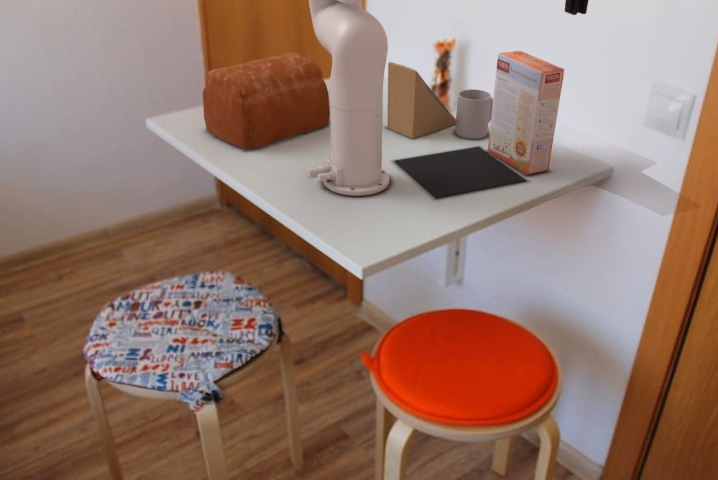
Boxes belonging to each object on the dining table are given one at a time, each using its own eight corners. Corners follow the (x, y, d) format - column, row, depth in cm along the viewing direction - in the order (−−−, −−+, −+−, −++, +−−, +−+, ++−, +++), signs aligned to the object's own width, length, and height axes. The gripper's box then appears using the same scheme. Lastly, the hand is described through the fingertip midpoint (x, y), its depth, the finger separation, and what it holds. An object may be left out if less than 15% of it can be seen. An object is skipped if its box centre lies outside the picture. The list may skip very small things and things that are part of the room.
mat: (436, 198, 134) (436, 197, 134) (394, 161, 147) (394, 160, 147) (526, 181, 142) (526, 180, 141) (478, 147, 155) (478, 146, 155)
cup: (448, 131, 162) (451, 93, 157) (480, 122, 167) (483, 85, 163) (470, 142, 157) (474, 102, 152) (502, 132, 163) (507, 94, 158)
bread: (336, 124, 163) (334, 59, 155) (247, 153, 148) (241, 82, 139) (287, 105, 172) (284, 42, 164) (199, 130, 157) (191, 62, 149)
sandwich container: (460, 122, 167) (465, 57, 159) (413, 139, 158) (416, 70, 149) (433, 112, 172) (437, 49, 164) (386, 127, 163) (388, 61, 154)
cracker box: (550, 171, 146) (566, 68, 135) (526, 176, 143) (541, 71, 132) (509, 146, 156) (521, 48, 145) (486, 151, 154) (496, 51, 142)
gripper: (569, -93, 122) (553, 20, 132) (640, -94, 128) (620, 14, 138) (543, -98, 127) (530, 11, 137) (612, -98, 133) (595, 6, 143)
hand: (575, 12), depth 137 cm, fingers closed
